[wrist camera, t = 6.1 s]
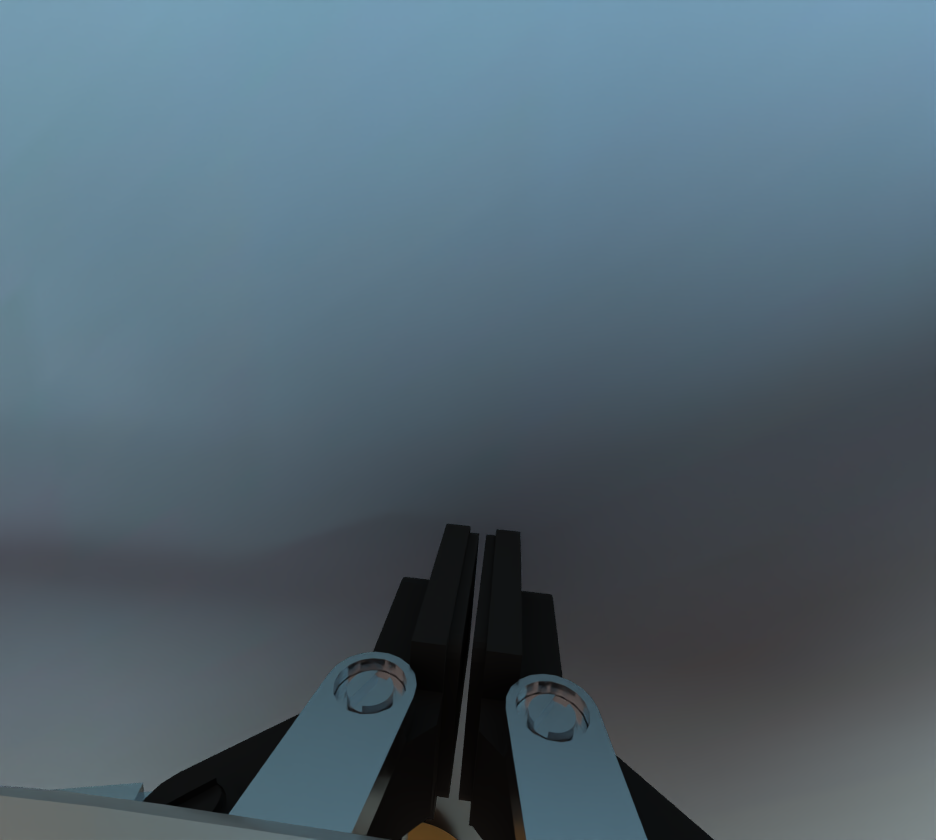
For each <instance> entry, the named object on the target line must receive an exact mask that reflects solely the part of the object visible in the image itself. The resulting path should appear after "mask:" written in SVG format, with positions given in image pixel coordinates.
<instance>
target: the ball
mask: <svg viewBox="0 0 936 840" xmlns="http://www.w3.org/2000/svg"><path fill="white" fill-rule="evenodd" d="M408 840H457V839H456V838H455V837H453V836H452V835H450V834H449V833H447V832H446V831H444V830H442V829H440V828H438V827H435V826H433V825H430V824H427V823H423V822H422V823H421V824H419V825H418V826H417V827H415V828H414V829H413V830H411V831H410V832H409V833H408Z"/></svg>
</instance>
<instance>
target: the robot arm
mask: <svg viewBox="0 0 936 840" xmlns="http://www.w3.org/2000/svg"><path fill="white" fill-rule="evenodd" d="M478 541H479V534H477V533H470V526H463V525H454V524H447V525H446V528H445V531H444V534H443V537H442V541H441V544H440V547H439V551H438V554H437V557H436V560H435V564H434V567H433V570H432V574H431V577H430V580H427V579H418V578H410V577H404V578H403V579H402V581H401V584H400V586H399V589H398V591H397V594H396V596H395V599H394V601H393V604H392V606H391V609H390V611H389V614H388V616H387V619H386V621H385V624H384V626H383V628H382V631H381V633H380V636H379V638H378V641H377V643H376V646H375V648H374V651H373V652H368V653H361V654H358V655H355V656H351V657H349V658H347V659H345V660H344V661H342V662H340V663H339V664H337V665H336V666H335V667H334V668H333V670H332V671H331V672H330V673H329V674H328V675H327V677H326V678H325V679H324V681H323V682H322V684H321V685H320V686H319V688H318V689H317V691H316V692H315V693H314V695H313V696H312V698H311V699H310V700H309V702H308V703H307V705H306V706H305V707H304V709H303V710H302V712H301V713H300V714H298V715H296V716H294V717H292V718H290V719H288V720H286V721H284V722H282V723H280V724H278V725H276V726H274V727H271V728H269V729H267V730H265V731H263V732H261V733H259V734H257V735H255V736H253V737H251V738H249V739H247V740H245V741H243V742H241V743H239V744H237V745H235V746H233V747H231V748H228V749H226V750H224V751H222V752H220V753H218V754H216V755H214V756H212V757H210V758H208V759H206V760H204V761H202V762H200V763H198V764H196V765H194V766H192V767H190V768H188V769H185V770H183V771H181V772H179V773H178V774H176V775H174V776H173V777H171V778H170V779H168V780H166V781H165V782H163V783H161V784H160V785H159V786H158V787H157V788H156V789H155V790H154V791H151V792H144V787H143V783H133V784H120V785H107V786H94V787H81V788H69V789H56V790H46V789H34V788H23V787H11V786H0V840H408V833H409V832H410V831H411V830H413V829H414V828H415V827H417V826H418V825H419V824H421V823H422V822H423V821H425V820H426V819H431V820H433V818H434V812H435V806H436V799H437V796H439V797H446V798H449V793H450V785H451V778H452V770H453V763H454V755H455V748H456V741H457V733H458V726H459V718H460V711H461V703H462V696H463V688H464V681H465V673H466V666H467V658H468V651H469V642H470V632H471V620H472V609H473V598H474V586H475V575H476V564H477V552H478ZM459 800H465V801H471V810H470V821H469V825H470V826H473V827H474V829H475V830H476V831H477V833H478V834H479V835H480V837H481V838H482V839H483V840H714V839H712V838H711V837H710V836H709V835H708V834H707V833H705V832H704V831H703V830H702V829H701V828H700V827H699V826H697V825H696V824H695V823H694V822H693V821H692V820H690V819H689V818H688V817H687V816H686V815H685V814H683V813H682V812H681V811H680V810H679V809H678V808H676V807H675V806H674V805H673V804H672V803H671V802H670V801H668V800H667V799H666V798H665V797H664V796H663V795H661V794H660V793H659V792H658V791H657V790H656V789H654V788H653V787H652V786H651V785H650V784H649V783H648V782H646V781H645V780H644V779H643V778H642V777H641V776H639V775H638V774H637V773H636V772H635V771H634V770H632V769H631V768H630V767H629V766H628V765H627V764H626V763H624V762H623V761H622V760H621V759H620V758H619V757H617V756H616V755H615V752H614V750H613V747H612V744H611V742H610V739H609V736H608V734H607V731H606V728H605V726H604V723H603V720H602V718H601V715H600V712H599V710H598V708H597V706H596V705H595V703H594V701H593V699H592V698H591V697H590V696H589V695H588V694H587V693H586V692H585V691H584V690H583V689H582V688H581V687H579V686H578V685H576V684H574V683H573V682H571V681H570V680H567V679H564V678H562V670H561V662H560V654H559V645H558V637H557V629H556V621H555V612H554V604H553V597H552V595H551V594H543V593H534V592H526V591H521V542H520V532H516V531H507V530H498V529H497V530H496V536H495V535H486V543H485V551H484V559H483V567H482V575H481V583H480V591H479V600H478V608H477V616H476V624H475V632H474V640H473V649H472V659H471V669H470V680H469V691H468V702H467V713H466V724H465V736H464V747H463V758H462V769H461V780H460V791H459Z"/></svg>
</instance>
